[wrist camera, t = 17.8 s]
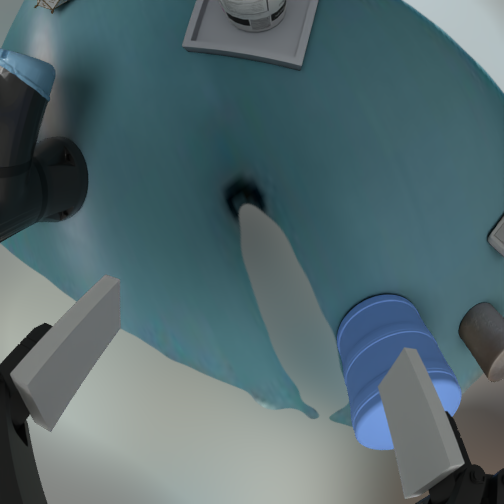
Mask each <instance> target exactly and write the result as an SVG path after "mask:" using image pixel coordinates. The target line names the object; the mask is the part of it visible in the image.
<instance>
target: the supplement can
mask: <svg viewBox="0 0 504 504" xmlns="http://www.w3.org/2000/svg"><path fill="white" fill-rule="evenodd" d="M218 1H219V3H220V5H221V7H222V9H223V11H224V13H225V15H226V16H227V18H228V20H229V21H230V23H231V24H233V25H234V26H235V27H237V28H238V29H241V30H245V31H248V32H260V31H264V30H269V29H271V28H272V27H274V26H276V25H278V23H279V22H280V21H281V20H282V19H283V18H284V15H285V11H286V0H218Z"/></svg>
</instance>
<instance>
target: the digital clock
mask: <svg viewBox="0 0 504 504" xmlns="http://www.w3.org/2000/svg"><path fill="white" fill-rule="evenodd" d="M488 242H489V243H490V245H491V246H493V247H494V248H495V249H496V250H497V251H498V252H499V253H500V254H501V255H502V256H503V257H504V216H503V217H502V219H501V220H500V221H499V223H498V224H497V225H496V227H495V229H494V230H493V231H492V233H491V234H490V235H489V237H488Z"/></svg>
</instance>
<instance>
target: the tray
mask: <svg viewBox="0 0 504 504" xmlns="http://www.w3.org/2000/svg"><path fill="white" fill-rule="evenodd" d="M317 4H318V0H286V11H285V15H284V18H283V19H282V20H281V21H280V22H279V23H278V25H276V26H274V27H272V28H271V29H269V30H264V31H260V32H248V31H245V30H241V29H238V28H237V27H235V26H234V25H233V24H231V23H230V21H229V20H228V18H227V16H226V15H225V13H224V11H223V9H222V7H221V5H220V3H219V1H218V0H197V1H196V4H195V6H194V9H193V12H192V15H191V18H190V21H189V25H188V28H187V31H186V34H185V38H184V41H183V44H182V47H183V48H185V49H186V50H187V51H188V52H198V53H208V54H216V55H223V56H230V57H237V58H243V59H249V60H254V61H259V62H264V63H269V64H274V65H278V66H283V67H287V68H291V69H295V70H299V71H300V70H301V66H302V62H303V58H304V54H305V51H306V47H307V43H308V39H309V35H310V31H311V27H312V23H313V19H314V15H315V11H316V8H317Z"/></svg>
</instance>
